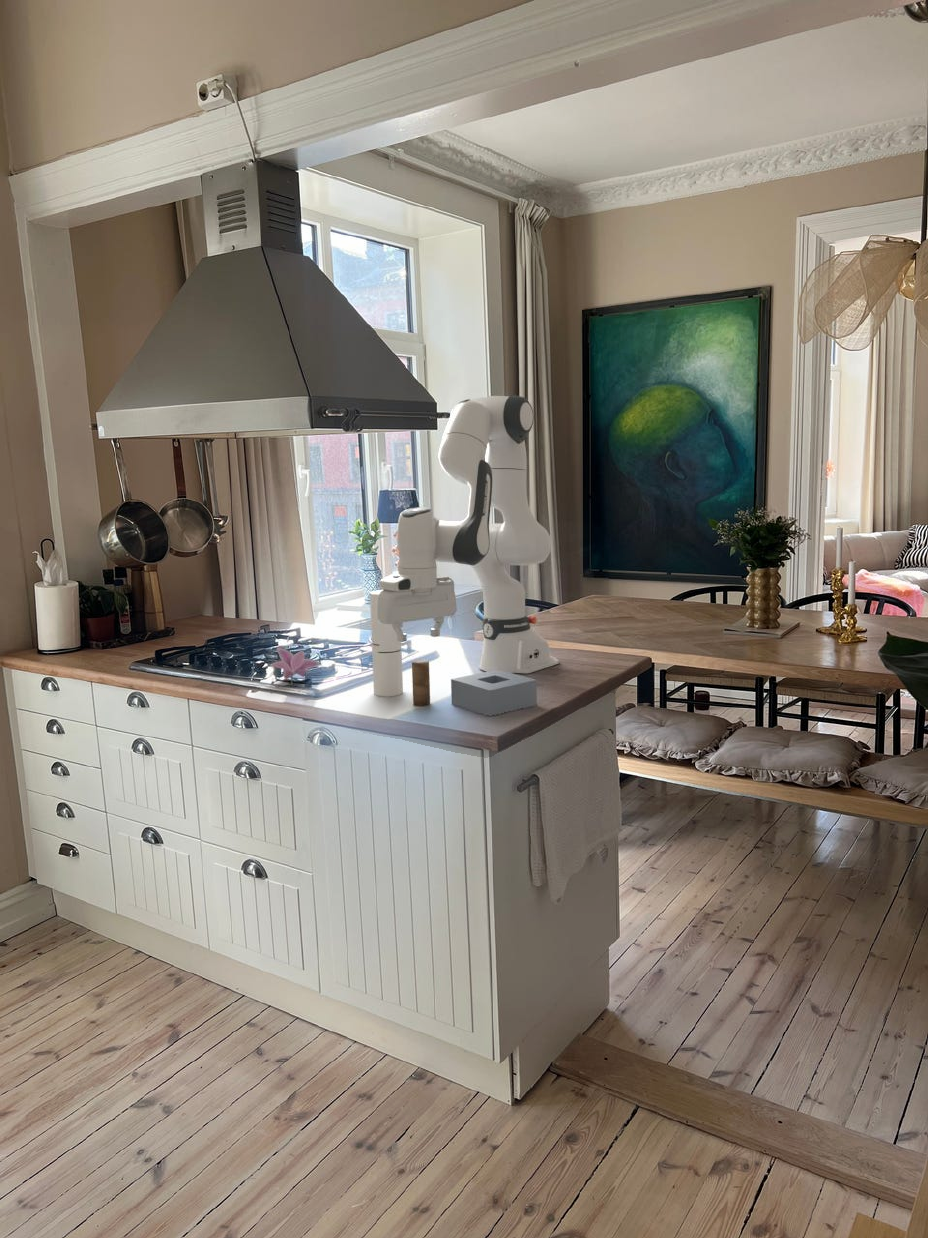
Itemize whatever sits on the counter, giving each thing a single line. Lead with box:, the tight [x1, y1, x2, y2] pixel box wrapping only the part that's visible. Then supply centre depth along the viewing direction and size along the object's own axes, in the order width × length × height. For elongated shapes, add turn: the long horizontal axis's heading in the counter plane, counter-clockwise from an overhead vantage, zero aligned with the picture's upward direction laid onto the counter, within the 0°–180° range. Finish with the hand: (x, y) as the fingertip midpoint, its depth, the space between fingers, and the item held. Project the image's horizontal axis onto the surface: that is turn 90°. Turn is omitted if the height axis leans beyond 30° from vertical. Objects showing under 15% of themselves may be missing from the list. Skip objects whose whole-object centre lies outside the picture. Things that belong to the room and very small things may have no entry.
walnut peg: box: [411, 660, 431, 707], centre depth 216 cm, size 4×4×10 cm
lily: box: [269, 647, 322, 686], centre depth 239 cm, size 12×12×10 cm
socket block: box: [450, 670, 538, 717], centre depth 214 cm, size 14×14×6 cm
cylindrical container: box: [369, 589, 404, 697], centre depth 226 cm, size 7×7×25 cm
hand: (418, 639), depth 214 cm, fingers open, 8 cm apart
